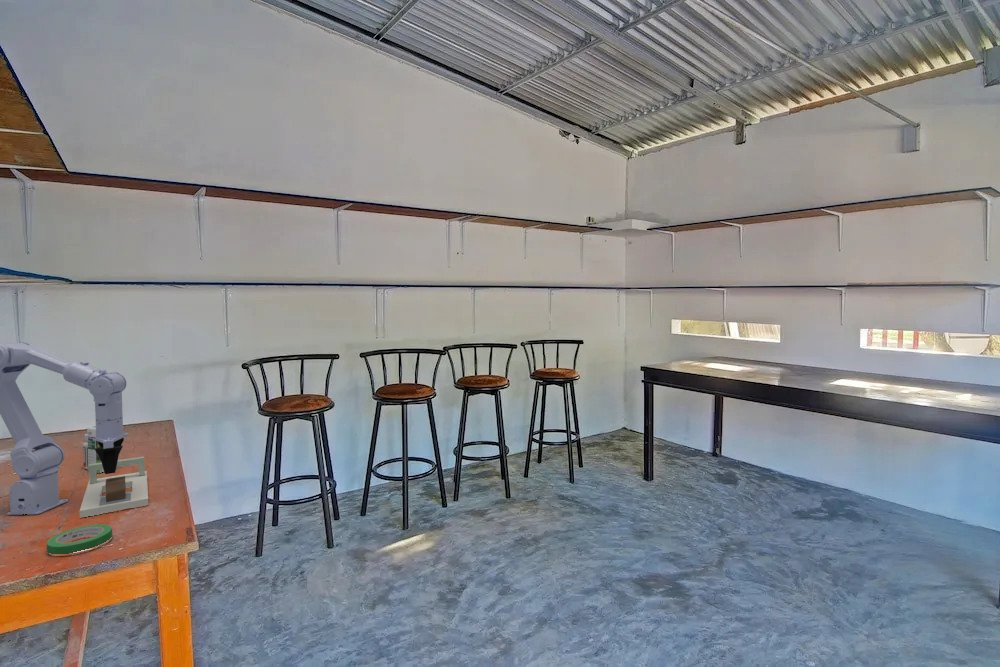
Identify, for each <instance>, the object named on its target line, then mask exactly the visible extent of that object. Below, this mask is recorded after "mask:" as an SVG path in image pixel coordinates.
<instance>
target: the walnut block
mask: <svg viewBox="0 0 1000 667" xmlns="http://www.w3.org/2000/svg"><path fill="white" fill-rule="evenodd" d="M105 485H106V492H105V496H106V502H110V501H116V500H121V499H125V498H126V492H127V489H126V485H125V476H122V477H116V478H109V479H106V483H105Z"/></svg>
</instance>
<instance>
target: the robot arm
mask: <svg viewBox="0 0 1000 667" xmlns="http://www.w3.org/2000/svg"><path fill="white" fill-rule="evenodd" d="M89 364H90V362H89V361H86V360H82V361H79V360H78V361H77V360H76V361H74V362H70V361H67V360H65V359H63V358H62V357H59V356H57V355H54V354H52V353H50V352H48V351H46V350H43V349H41V348H40V347H39V346H38V345H33V344H30V342H29V343H28V342H24V341H23V342H22V341H21V342H17V343H16V342H15V343H12V342H11V343H0V417H1V418H2V421H3V422H4V424H5V426H6V428H7V430H8V432H9V434H10V436H11V437H12V440H13V442H14V443H15V445H14V447H13V448H12V449H11V451H10V453H9V456H10V457H11V461H12V462H11V463H12V464H11V465H12V466H11V467H12V470H13V472H14V473H15V474H16V475H17V476H18V477H19V479H18V480H17V481H16V482H14V483H13V484H12V485H11V486H10V488H9V504H10V505H9V506H10V508H9V509H10V511H8V512H7V513H6V514H7V515H8V516H9V515H10V516H14V515H15V516H17V515H18V516H19V515H20V516H21V515H23V514H24V515H25V514H27V515H40V514H42V513H45V512H47V511H49V510H51V509H53V508H56V507H59V506H60V505H62V504H64V503H65V504H66V503H68V502H69V499H65V498H64V499H63V498H62V499H60V487H59V484H60V482H59V470H60V466H61V465H62V464H63V462H64V461H65V457H66V456H65V452H64V449H63V448H62V447H61V446H60V445H58V444H57V443H56V442H55V440H54V438H52V437H50V436H47V435H45V434H43V433H42V430H41V428H40V427H39V424H38V423H37V421H36V419H35V416H34V415H33V412H32V411H31V410H30V407H29V405H28V403H27V400H25V398H24V395H23V393H22V391H21V389H20V388H19V386H18V384H17V382H16V380H17V379H18V378H19V376H20V375H21V374H22V372H24V371H25V370H26V369H27V368H28V367H30V366H31V365H34V366H36V367H40V368H41V369H42V368H43V369H46V370H49V371H51V372H55V373H58V374H60V375H63V379H64V381H65V382H68V383H70V384H73V385H76V386H79V387H81V388H83V389H86V390H88V391H89V393H90V394H91V395H92V397H93V402H94V408H95V409H94V412H95V426H96V437H95V440H96V441H99V442H98V444H99V446H100V447H97V448H95V451H96V453H97V454H98V456H99V457H100V459H101V462H102V466H103V470H104V472H103V473H104V474H105V475H110V474H115V473H116V472H117V471H116V470H117V469H116V467H117V462H118V460H119V456H120V453H121V451H122V449H123V445H122V444H123V442H124V440H125V438H126V437H129V432H124V422H123V420H124V419H123V415H124V414H123V391H124V390H125V389H126V387H127V379H126V377H125V376H124V375H122V374H121V373H119V372H117V371H114V372H107V369H104V368H100V369H99V368H98V367H94V366H92V365H91V364H90V365H89ZM117 468H118V467H117Z"/></svg>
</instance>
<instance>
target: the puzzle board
mask: <svg viewBox="0 0 1000 667" xmlns="http://www.w3.org/2000/svg"><path fill="white" fill-rule="evenodd" d="M147 473H148V471H147V470H145V475H139V471H137V472H131V473H130V472H129V473H125V474H118V475H111V476H106V477H99V478H98V477H97V482H95V483H90V479H89V480H88V482H87V485H86V488H85V492H84V495H83V499H82V502H81V505H80V509H79V519H80V518H81V517H87V518H89V517H88V516H93V517H95V516H94V515H98V516H100V515H99V514H103V513H108V512H113V511H117V510H122V509H127V508H133V507H138V506H143V505H148V506H149V491H148V488H149V487H148V474H147ZM122 476H125V485H126V488H129V489H131V491H126V498H125V499H121V500H116V501H110V502H106V495H104V496H103V494H104V492H105V493H106V485H105V483H106V479H109V478H116V477H122ZM130 487H132V488H130ZM103 515H104V514H103Z"/></svg>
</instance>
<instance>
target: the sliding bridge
mask: <svg viewBox="0 0 1000 667" xmlns="http://www.w3.org/2000/svg"><path fill="white" fill-rule="evenodd" d="M136 465H138V472H139V475H145V471H146V470H145V456H137V457H131V458H124V459H118V462H117V468H121V467H128V466H136ZM101 469H103V466H102V462H101V463H94V464H89V472H88V473H89V480H90V483H95V482H97V479H98V476H97V474H98V473H97V471H96V470H101Z"/></svg>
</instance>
